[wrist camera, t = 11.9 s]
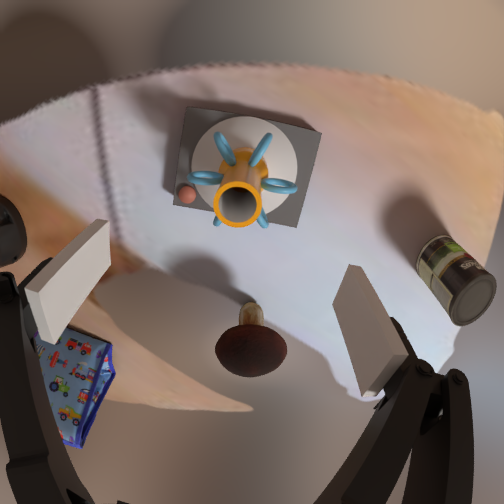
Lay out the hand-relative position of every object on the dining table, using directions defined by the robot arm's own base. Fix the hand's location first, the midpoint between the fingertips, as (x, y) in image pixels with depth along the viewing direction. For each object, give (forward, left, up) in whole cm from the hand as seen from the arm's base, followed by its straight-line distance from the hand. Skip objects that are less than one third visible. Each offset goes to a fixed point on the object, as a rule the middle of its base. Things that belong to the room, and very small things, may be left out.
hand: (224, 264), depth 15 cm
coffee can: (+39, -8, -28) cm, 49 cm away
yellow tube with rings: (0, 0, -25) cm, 25 cm away
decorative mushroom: (+6, -25, -28) cm, 38 cm away
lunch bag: (-34, -49, -29) cm, 66 cm away
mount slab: (0, 0, -28) cm, 28 cm away
